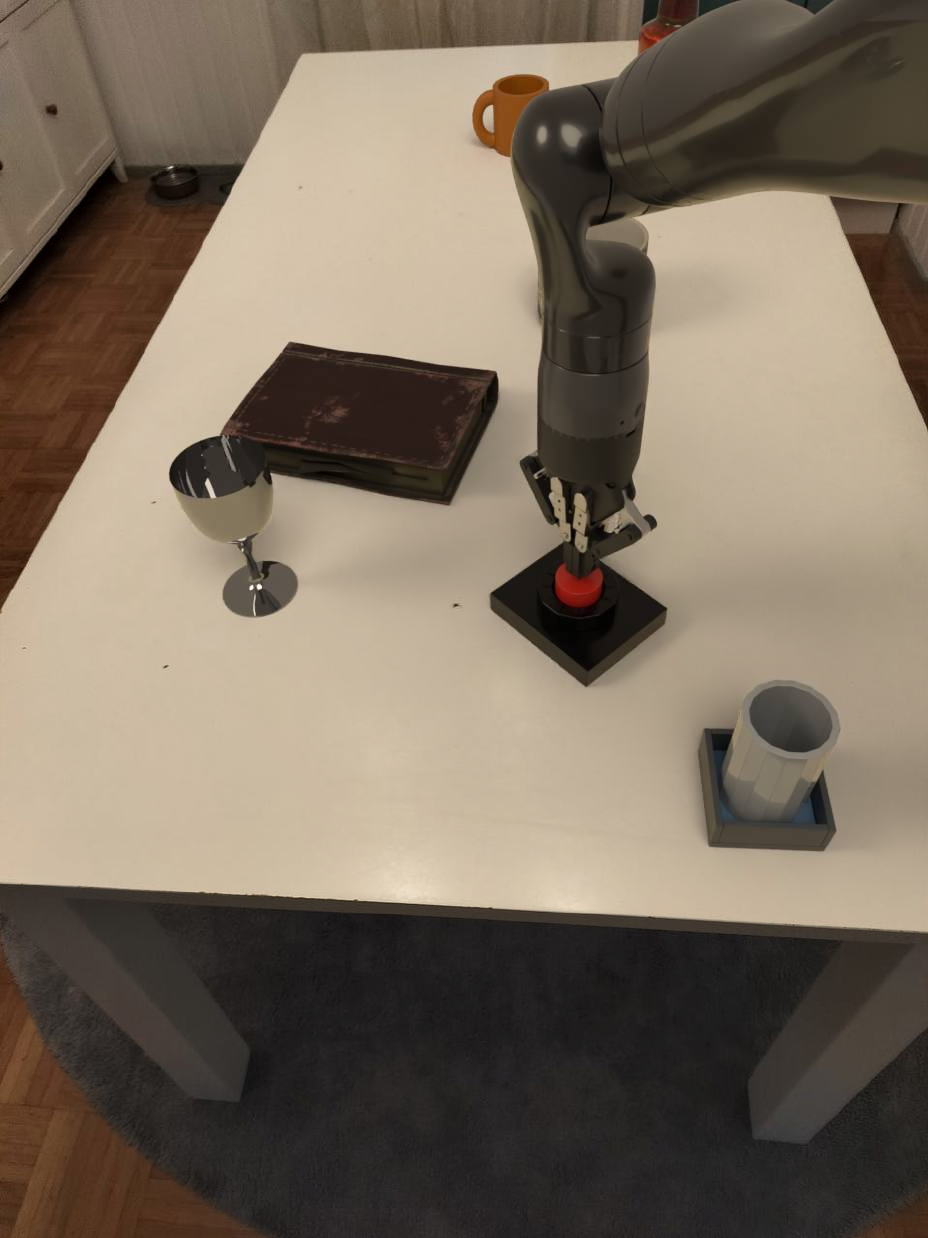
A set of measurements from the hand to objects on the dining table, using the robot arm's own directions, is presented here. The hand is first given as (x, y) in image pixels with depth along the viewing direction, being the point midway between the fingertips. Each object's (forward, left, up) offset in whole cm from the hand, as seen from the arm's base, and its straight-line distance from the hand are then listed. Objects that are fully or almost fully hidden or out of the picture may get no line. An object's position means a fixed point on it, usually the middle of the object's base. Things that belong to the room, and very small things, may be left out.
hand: (580, 570), depth 74 cm
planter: (+33, -36, -6) cm, 49 cm away
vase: (+62, -84, -6) cm, 104 cm away
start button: (0, 0, -2) cm, 2 cm away
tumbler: (-22, +3, -5) cm, 23 cm away
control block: (0, 0, -6) cm, 6 cm away
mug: (+77, -64, -6) cm, 100 cm away
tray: (-22, +3, -6) cm, 23 cm away
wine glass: (+23, +19, -6) cm, 31 cm away
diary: (+34, -2, -6) cm, 35 cm away
